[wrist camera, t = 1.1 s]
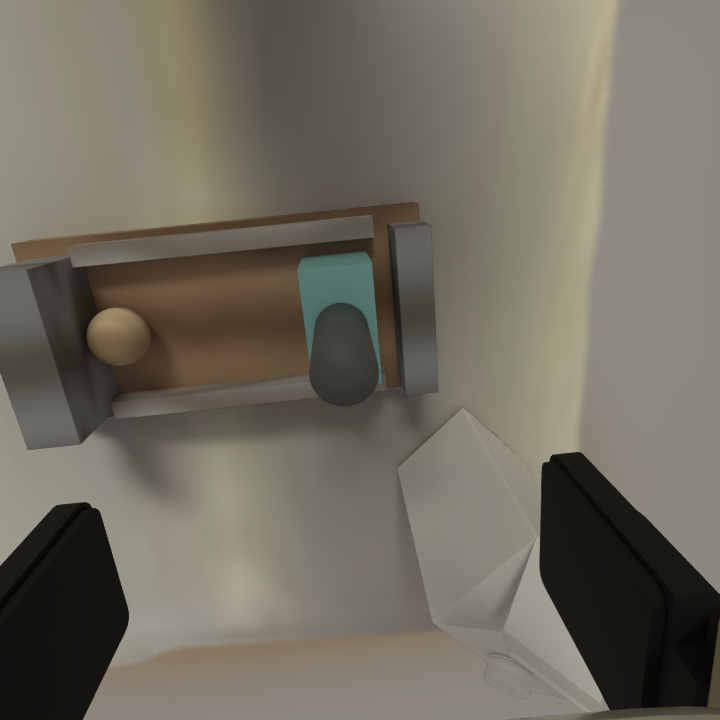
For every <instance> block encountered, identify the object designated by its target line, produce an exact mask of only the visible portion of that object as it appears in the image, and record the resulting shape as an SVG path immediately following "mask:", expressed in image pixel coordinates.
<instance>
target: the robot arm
mask: <svg viewBox="0 0 720 720" xmlns="http://www.w3.org/2000/svg"><path fill="white" fill-rule="evenodd" d="M539 570H540V576H541V580H542V583H543V585H544V587H545V589H546V591H547V593H548V595H549V597H550V598H551V600H552V602H553V604H554V606H555V608H556V610H557V612H558V613H559V615H560V617H561V619H562V621H563V623H564V625H565V627H566V628H567V630H568V632H569V634H570V636H571V638H572V640H573V642H574V643H575V645H576V647H577V649H578V651H579V653H580V655H581V657H582V658H583V660H584V662H585V664H586V666H587V668H588V670H589V672H590V674H591V675H592V677H593V679H594V681H595V683H596V685H597V687H598V689H599V690H600V692H601V694H602V696H603V698H604V700H605V702H606V704H607V705H608V707H609V709H610V711H598V712H586V713H575V714H563V715H550V716H538V717H529V718H518V719H509V720H720V594H719V593H718V592H717V591H716V590H715V589H714V588H713V587H712V586H711V585H710V584H709V583H708V582H707V581H706V580H705V579H704V578H703V576H702V575H701V574H700V573H699V572H698V571H697V570H696V569H695V568H694V567H693V566H692V565H691V564H690V563H689V562H688V561H687V560H686V559H685V558H684V557H683V556H682V555H681V554H680V553H679V552H678V551H677V550H676V548H675V547H674V546H673V545H672V544H671V543H670V542H669V541H668V540H667V539H666V538H665V537H664V536H663V535H662V534H661V533H660V532H659V531H658V530H657V529H656V528H655V527H654V526H653V525H652V524H651V522H650V521H649V520H647V518H646V517H644V516H643V515H642V514H641V513H640V512H638V511H637V510H636V509H635V508H634V507H633V506H632V505H631V504H630V503H629V502H628V501H627V500H626V499H625V498H624V497H623V496H622V495H621V494H620V493H619V491H618V490H617V489H616V488H615V487H614V486H613V485H612V484H611V483H610V482H609V481H608V480H607V479H606V478H605V477H604V476H603V475H602V474H601V473H600V472H599V470H597V468H596V467H595V466H594V465H593V464H592V463H591V462H590V461H589V460H588V459H587V458H586V457H585V456H584V455H583V454H582V453H581V452H574V453H564V454H555V455H552V456H551V458H550V461H549V462H544V463H543V465H542V478H541V516H540V555H539ZM128 621H129V611H128V607H127V603H126V600H125V596H124V593H123V589H122V586H121V582H120V579H119V575H118V572H117V569H116V565H115V562H114V558H113V555H112V551H111V548H110V544H109V541H108V537H107V534H106V531H105V527H104V524H103V520H102V517H101V514H100V511H99V510H98V509H96V508H92V507H91V505H90V504H89V503H87V502H82V503H72V504H62V505H56V506H55V507H54V508H52V510H51V511H50V512H49V513H48V514H47V515H46V516H45V517H44V518H43V519H42V521H41V522H40V523H39V524H38V525H37V526H36V527H35V528H34V529H33V531H32V532H31V533H30V534H29V535H28V536H27V537H26V538H25V539H24V540H23V542H22V543H21V544H20V545H19V546H18V547H17V548H16V549H15V550H14V551H13V553H12V554H11V555H10V556H9V557H8V558H7V559H6V560H5V561H4V562H3V564H2V565H1V566H0V720H83V718H84V716H85V714H86V712H87V710H88V708H89V706H90V704H91V702H92V700H93V698H94V695H95V693H96V691H97V689H98V687H99V685H100V683H101V681H102V679H103V677H104V675H105V673H106V671H107V669H108V667H109V664H110V662H111V660H112V658H113V656H114V654H115V652H116V650H117V648H118V646H119V644H120V642H121V640H122V638H123V636H124V633H125V631H126V629H127V626H128Z"/></svg>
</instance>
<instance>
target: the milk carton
mask: <svg viewBox="0 0 720 720" xmlns="http://www.w3.org/2000/svg"><path fill="white" fill-rule="evenodd" d="M397 469H398V474H399V478H400V483H401V487H402V492H403V496H404V500H405V505H406V509H407V514H408V518H409V522H410V527H411V531H412V536H413V540H414V544H415V549H416V553H417V558H418V562H419V566H420V571H421V575H422V580H423V584H424V589H425V593H426V597H427V602H428V606H429V610H430V614H431V618H432V622H433V623H434V624H435V625H436V626H437V627H439V628H440V629H441V630H443V631H444V632H445V633H447V634H448V635H449V636H451V637H452V638H453V639H455V640H456V641H458V642H459V643H460V644H462V645H463V646H464V647H466V648H467V649H469V650H470V651H471V652H473V653H474V654H476V655H477V656H478V657H480V658H481V659H482V660H484V661H485V662H486V663H487V667H486V669H485V672H484V680H485V681H486V682H487V683H488V684H489V685H490V686H492V687H493V688H495V689H497V690H498V691H500V692H502V693H504V694H507V695H509V696H512V697H515V698H519V699H529V698H530V694H531V691H533V692H538V693H542V694H546V695H550V696H555V697H559V698H563V699H567V700H570V701H571V702H573V703H574V704H575V705H577V706H578V707H579V708H581V709H582V710H583V711H584V712H598V711H604V710H603V708H602V706H601V702H602V698H603V696H602V694H601V692H600V690H599V689H598V687H597V685H596V683H595V681H594V679H593V677H592V675H591V674H590V672H589V670H588V668H587V666H586V664H585V662H584V660H583V658H582V657H581V655H580V653H579V651H578V649H577V647H576V645H575V643H574V642H573V640H572V638H571V636H570V634H569V632H568V630H567V628H566V627H565V625H564V623H563V621H562V619H561V617H560V615H559V613H558V612H557V610H556V608H555V606H554V604H553V602H552V600H551V598H550V597H549V595H548V593H547V591H546V589H545V587H544V585H543V583H542V580H541V576H540V570H539V555H540V516H541V489H540V487H539V486H538V484H537V483H536V481H535V480H534V478H533V477H532V475H531V474H530V472H529V471H528V470H527V468H526V467H525V465H524V464H523V462H522V461H521V460H520V459H519V458H518V457H517V456H516V455H515V454H514V453H513V452H512V451H511V450H509V449H508V448H507V447H506V446H505V445H504V444H503V443H502V442H501V441H500V440H499V439H497V438H496V437H495V436H494V435H493V434H492V433H491V432H490V431H489V430H488V429H487V428H485V427H484V426H483V425H482V424H481V423H480V422H479V421H478V420H477V419H476V418H475V417H473V416H472V415H471V414H470V413H469V412H468V411H467V410H466V409H464V408H462V409H461V410H460V411H458V412H457V413H456V414H455V415H454V416H453V417H452V418H451V419H450V420H449V421H448V422H447V423H446V424H444V425H443V426H442V427H441V428H440V429H439V430H438V431H437V432H436V433H435V434H434V435H433V436H432V437H430V438H429V439H428V440H427V441H426V442H425V443H424V444H423V445H422V446H421V447H420V448H419V449H417V450H416V451H415V452H414V453H413V454H412V455H411V456H410V457H409V458H408V459H407V460H406V461H405V462H403V463H402V464H401V465H400V466H399V467H398V468H397Z"/></svg>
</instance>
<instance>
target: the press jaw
mask: <svg viewBox="0 0 720 720" xmlns="http://www.w3.org/2000/svg"><path fill="white" fill-rule="evenodd" d="M297 272H298V279H299V287H300V294H301V302H302V309H303V317H304V324H305V332H306V339H307V347H308V354H309V362H310V367H309V379H310V383H311V386H312V388H313V391H315V392H316V394H317V395H318V396H319V397H320V398H322V399H323V400H325V401H326V402H328V403H330V404H333V405H338V406H350V405H354V404H357V403H360V402H362V401H363V400H365V399H366V398H367V397H369V396H370V395H371V393H372V392H373V391H374V389H375V388H376V386H377V384H381V383H382V377H381V365H380V354H379V342H378V330H377V318H376V306H375V294H374V282H373V271H372V262H371V260H370V258H369V256H368V254H367V252H366V251H358V252H349V253H339V254H329V255H319V256H309V257H302V259H301V262H300V264H299V267H298V270H297Z"/></svg>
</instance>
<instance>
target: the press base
mask: <svg viewBox="0 0 720 720" xmlns="http://www.w3.org/2000/svg"><path fill="white" fill-rule="evenodd" d="M11 246H12V249H13V252H14V255H15V258H16V261H17V263H14V264H11V265H7V266H3V267H0V373H1V375H2V378H3V381H4V384H5V387H6V390H7V392H8V395H9V398H10V401H11V404H12V407H13V409H14V412H15V415H16V418H17V421H18V424H19V426H20V429H21V432H22V435H23V438H24V441H25V443H26V446H27V449H28V450H33V449H43V448H52V447H61V446H71V445H80V444H82V443H83V442H84V440H85V439H86V438H87V437H88V436H89V435H90V434H91V433H92V432H93V431H94V430H95V429H96V428H97V427H98V426H99V425H100V424H101V423H102V422H103V421H104V420H105V419H106V418H107V417H110V416H114V417H115V419H122V418H132V417H141V416H151V415H160V414H169V413H179V412H188V411H198V410H207V409H217V408H226V407H235V406H245V405H254V404H264V403H273V402H283V401H292V400H302V399H311V398H320V397H319V396H318V395H317V394H316V392H315V391H313V388H312V386H311V383H310V379H309V367H310V362H309V354H308V347H307V339H306V332H305V324H304V317H303V309H302V302H301V294H300V287H299V279H298V272H297V270H298V267H299V264H300V262H301V259H302V257H309V256H319V255H329V254H339V253H349V252H358V251H366V252H367V254H368V256H369V258H370V260H371V262H372V271H373V282H374V294H375V306H376V318H377V330H378V342H379V354H380V365H381V377H382V383H381V384H377V386H376V388H375V389H374V391H373V392H377V391H386V390H387V389H386V387H394V386H403V388H404V391H405V394H406V395H416V394H425V393H435V392H438V371H437V349H436V326H435V303H434V281H433V258H432V236H431V225H429V224H427V223H424V222H422V221H420V220H419V206H418V203H414V202H412V203H402V204H392V205H382V206H372V207H362V208H352V209H342V210H332V211H322V212H312V213H302V214H292V215H281V216H271V217H261V218H251V219H241V220H231V221H221V222H211V223H201V224H191V225H181V226H171V227H161V228H150V229H140V230H130V231H120V232H110V233H100V234H90V235H80V236H70V237H60V238H50V239H40V240H30V241H24V242H19V243H14V244H11Z"/></svg>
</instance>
